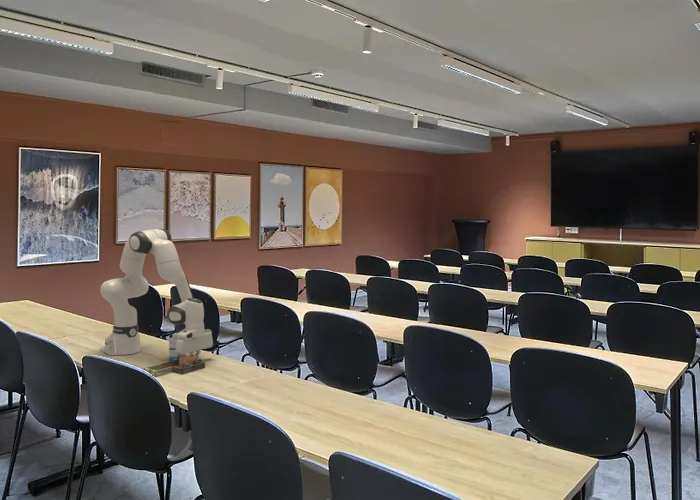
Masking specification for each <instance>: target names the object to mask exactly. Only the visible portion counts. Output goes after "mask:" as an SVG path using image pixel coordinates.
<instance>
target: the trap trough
mask: <svg viewBox="0 0 700 500" xmlns="http://www.w3.org/2000/svg"><path fill="white" fill-rule="evenodd" d="M205 368H206V362H204V361H202V359H201V358H199V359H197V360H194V365H191V364H187V363H183V366H182V367H180V366H179V359H177V360H173V361H169V360H168V361H166V362H162V363H157V364H155V365H150V366H147V367H143V371H144V370H145V371H147V372H149V373H150V374H152V375H153V376H152V377H154V376H155V378H157V377H161V376H164V375H169V374H172V373H175V374H180V375H184V374H189V373H191V372H195V371H199V370H202V369H205ZM198 369H199V370H198Z"/></svg>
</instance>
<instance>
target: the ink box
mask: <svg viewBox="0 0 700 500" xmlns="http://www.w3.org/2000/svg"><path fill="white" fill-rule="evenodd" d="M177 339H178V337H177V334H175V335H173V336H171V337H169V339H168V362H169V361H173V360H177V359H179V357H182V356H186V355H187V353H186V354H178V353H177V352H176V341H177Z"/></svg>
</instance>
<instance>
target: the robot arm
mask: <svg viewBox="0 0 700 500" xmlns="http://www.w3.org/2000/svg"><path fill="white" fill-rule="evenodd" d="M172 239H173V238H172V235H171V232H170V231H168V229H165V228H164V229H163V228H151V229H146V230H141V231H140V230H139V231H138V230H137V231H135V232H133V233H131V235H129V237H128V238H127V240H126V242H125V244H124V247H123V249H122V250H123V251H122V254H121V258H120V262H119V268H120V271H122V272H123V273H124V274H125V276H123V277H120V278H111V279H109V280H106V281H104V282H102V284H101V285H100V290H99V291H100V294H101V296H102V298H103V299H104V300H105V301H107V302H108V303H109V304H110V306H111V308H112V310H113V319H114V321H113V323H114V325H112V327H111V328H112V332H111V333H110V334H109V335H108V336H107V337H106V338H105V339H104V346H102V347H100V349H99V350H100V351H101V352H103V353H105V354H107V355H109V356H120V355H121V356H123V355H124V356H127V355H133V354H134V355H135V354H137V353H140V352H141V351H142V349H143V348H144V347H143V346H142V344H141V334H140V333H139V325H138V312H137V309H136V308H135V307H134V306H132V305H131V304H130V303H129V300H128V299H133V298H139V297H141V296H144V295H146V294H147V293H148V291H149V288H150V287H149V286H150V285H149V284H150V283H149V282H148V280H147V279H146V278H145V277H144V276H143V268H144V263H145V259H146V256H147V254H149V253H151V254H152V255H153V257H154V260H155V264H156V265H155V266H156V270H157V273H158V275H159V277H160V278H161V279H163V280H164V281H167V282H169V283H171V284H173V285H174V286H175V287H176V289H177V292H178V294H179V297H180V301H181V302H180V303H177V304H174V305H172V306H170V307H169V308H168V309H167V312H166V316H167V320H168V322H170V324H172V325H181V324H184V325H185V328H183V329H181V330H180V331H179V332H177V333H176V335H177V337H178V339H177V341H176V352H177V353H178V354H186V355H187V354H189V355H192V356H196V360H198V359H200V358H199V356H200V354H201V351H202V350H206V349H209V348H212V347H213V345H214V341H213V335H212V333H213V331H212V330H211V329H210V328H206V329H205V323H204V319H205V318H204V317H205V308H204V303H203V301H202V300H201V299H199V298H195V297H194V295H193V293H192V289H191V286H190V283H189V280H188V278H187V275H186V273H185V272H184V271H183V268H182V265H181V262H180V258H179V254H178V252H177V248H176V246H175V244H174V242H173V240H172Z"/></svg>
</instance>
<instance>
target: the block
mask: <svg viewBox="0 0 700 500" xmlns="http://www.w3.org/2000/svg"><path fill="white" fill-rule="evenodd" d="M194 360H196V356H192V355H190V354H186V356H182V357H179V365H178V367H183V363H187V364H191V365H194Z"/></svg>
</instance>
